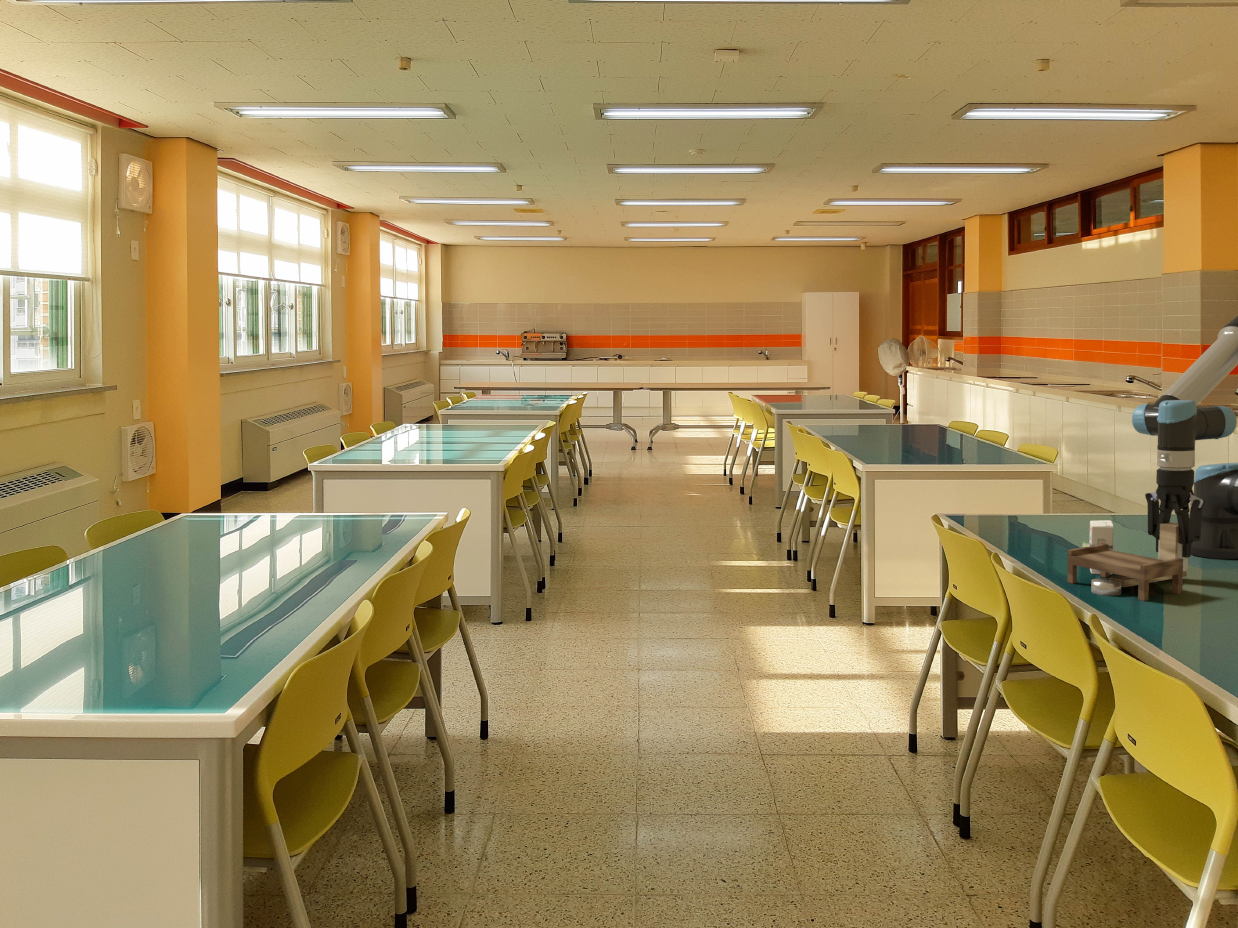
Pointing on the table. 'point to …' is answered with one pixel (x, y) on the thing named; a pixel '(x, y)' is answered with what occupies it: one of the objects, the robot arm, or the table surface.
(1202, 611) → the table surface
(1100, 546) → the riser
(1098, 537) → the ink box
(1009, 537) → the table surface
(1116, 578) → the bookend
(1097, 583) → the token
